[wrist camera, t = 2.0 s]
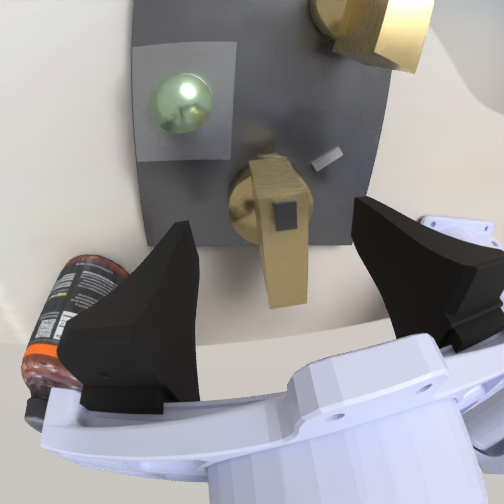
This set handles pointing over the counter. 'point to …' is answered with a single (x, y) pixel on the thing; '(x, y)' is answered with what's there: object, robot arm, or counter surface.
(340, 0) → the knob
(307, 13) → the instrument base
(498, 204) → the counter surface
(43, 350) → the supplement bottle
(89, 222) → the counter surface
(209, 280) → the counter surface
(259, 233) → the knob
